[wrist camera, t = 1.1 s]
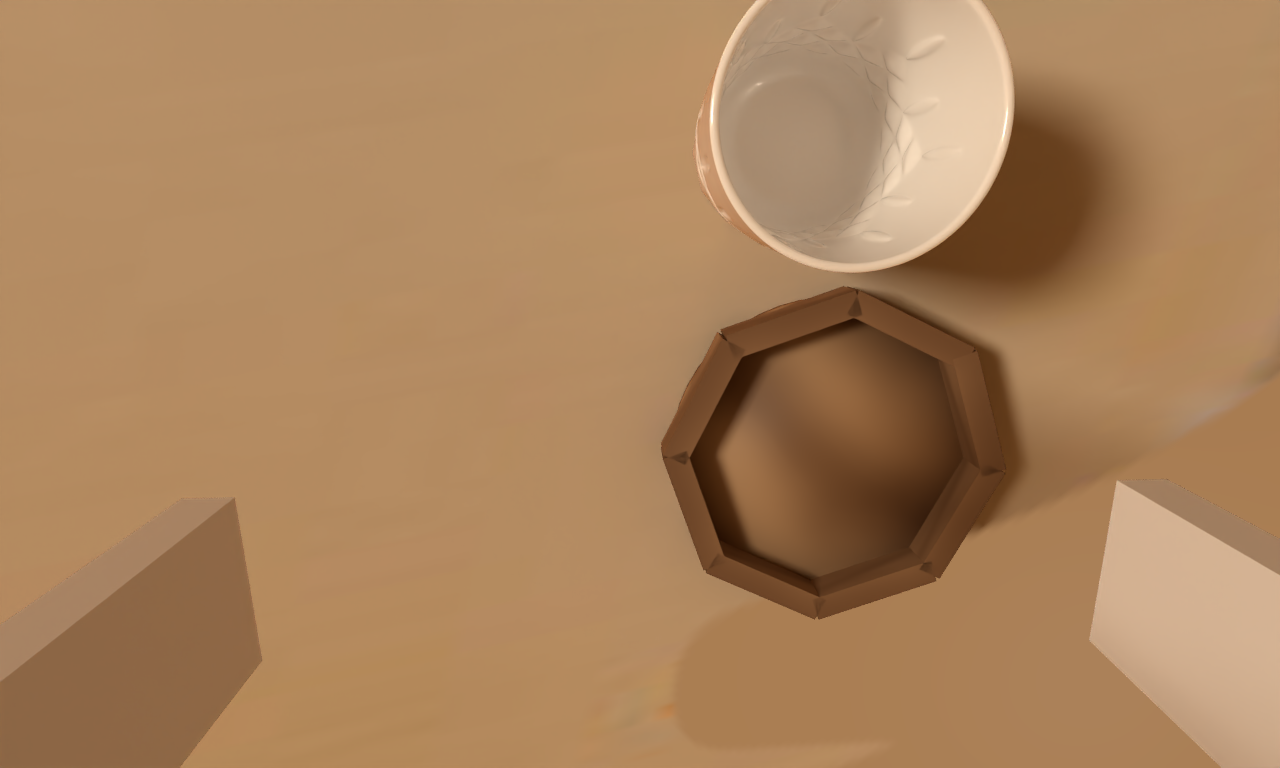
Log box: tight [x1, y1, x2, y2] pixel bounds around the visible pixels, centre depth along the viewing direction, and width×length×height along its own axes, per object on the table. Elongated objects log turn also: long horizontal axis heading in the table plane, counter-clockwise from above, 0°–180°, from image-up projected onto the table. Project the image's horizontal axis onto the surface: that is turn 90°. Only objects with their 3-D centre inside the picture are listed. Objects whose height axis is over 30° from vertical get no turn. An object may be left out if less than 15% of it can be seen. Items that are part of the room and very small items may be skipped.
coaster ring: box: [661, 286, 1006, 619], centre depth 30 cm, size 13×13×2 cm
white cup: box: [693, 0, 1015, 273], centre depth 23 cm, size 8×8×10 cm
